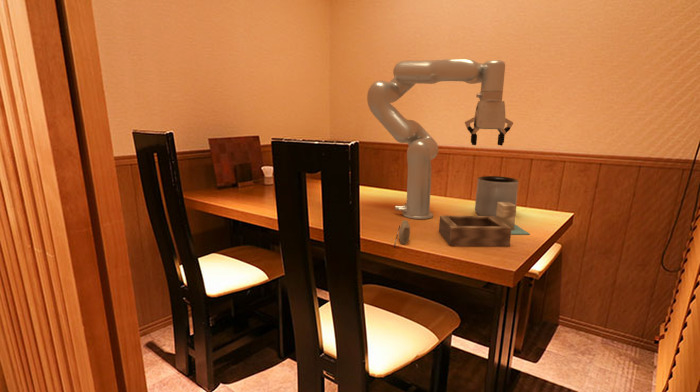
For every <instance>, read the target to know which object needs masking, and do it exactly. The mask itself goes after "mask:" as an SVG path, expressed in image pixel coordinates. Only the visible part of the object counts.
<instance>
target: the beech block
mask: <svg viewBox="0 0 700 392" xmlns="http://www.w3.org/2000/svg"><path fill="white" fill-rule="evenodd" d="M516 215H517V205H516V206H515V205H513V204H512V203H510V202H497V212H496V218H497V219H499V220H500V221H501V222H503V223H504V224H506V225H507V226H509V227H510V228H512V229H511V230H514V225H516Z"/></svg>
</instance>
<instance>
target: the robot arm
mask: <svg viewBox="0 0 700 392" xmlns="http://www.w3.org/2000/svg"><path fill="white" fill-rule="evenodd" d="M392 72H393V74H392V75H393V78H391V80H390V81H386V80H377V81H374V82H373V83H372V84H371V85H370V86H369V88H368V91H367V94H366V95H367V97H366V100H367V105H368V109H369V110H370V112H371V114H372V115H373V116H374V117H375V118H376V120H377V121H378V122H379V123H380V124H381V125H382V126H383V127H384V128H385V130H386V131H387V132H388V133H389V134H390V135H391V136H392V137H393V139H394V140H395V141H396V142H397V143H400V144H407V145H408V146H407V151H406V159H407V160H406V161H407V162H406V163H407V180H406V181H407V184H406V202H404V204H402V205H394V210H395V211H399V212H402V213H401V214H402V216H403V217H405V218H408V219H413V220H427V219H431V218H433V217H434V213H433V212H432V211H430V208H431V207H430V205H431V191H432V190H431V188H432V160H434V159H435V158H436V157H437V155H438V154H439V145H438V143H437V141H436V140H435V139H434V138H433V137H432V136H431V135H430V134H429V132H428V131H427V130H426V129H425V128H424V127H423V126H422V125H421V124H420V123H418V122H417V121H415V120H413V119H408V118H406V117H404V115H402V113H401V112H400V111H399V110H398V109H397V108H396V107H395V106H394V105H392V104H393V103H395V102H397V101H398V100H400V98H402V97H403V96H404V95H405V94H406V93H407V92H409V91H410V89H412V88H413V87H414V86H415V85H416V84H422V85H423V84H425V85H435V84H437V83H440V82H464V83H467V84H469V85H474V84H480V92H479V93H477V94H475V95H476V98H478V99H479V100H478V101H477V104H476V107H475V113H474V117H472V118H470V119H468V120H465V121H464V124H465V128H466V129H467V131H468V132H469V134H470V135H471V136H470V144H471V145H472V146H477V140H478V134H477V132H478V131H479V130H497V131H498V132H499V134H498V136H497V145H498V146H500V147H501V146H502V147H503V145H504V143H505V136H506V134H507V133H508V132H509V131H510V129H511V128H512V126H513V125H514V122H513V121H512V120H509V119H508V118H506V105H505V104H506V103H505V100H503V92H504V84H505V83H504V82H505V75H506V74H505V73H506V62H505V61H503V60H500V59H499V60H497V59H495V60H487V61H485V62H483V63H479V62H477V61H475V60H473V59H470V58H469V59H468V58H467V59H466V58H453V59H452V58H450V59H435V60H434V59H433V60H428V59H427V60H401V61H399V62H397V63H396V64H395V65H394V67H393V70H392ZM472 123H473V127H472V126H471V124H472Z"/></svg>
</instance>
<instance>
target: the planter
mask: <svg viewBox="0 0 700 392" xmlns="http://www.w3.org/2000/svg"><path fill="white" fill-rule="evenodd" d="M518 189H519V179H516V178H513V177H508V176H499V175H495V176H494V175H485V176H484V175H483V176H479V177H477V184H476V195H475V205H474V212H475V213H476V214H477V216H494V217H496V212H497V202H510V203H512V204H513V205H515V206H517V202H518V201H517V200H518Z"/></svg>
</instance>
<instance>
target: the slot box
mask: <svg viewBox="0 0 700 392" xmlns="http://www.w3.org/2000/svg"><path fill="white" fill-rule="evenodd" d="M511 229H512V228H510V227H509V226H507V225H506V224H504V223H503V222H501V221H500V220H499V219H497V218H496V217H494V216H480V215H443V214H442V215H439V223H438V233H439V234H440V236H441V237H442V238H443V239H444V240H445V242H446V243H447V244H448V246H450V247H485V248H486V247H487V248H488V247H495V248H496V247H498V248H499V247H500V248H501V247H502V248H503V247H505V248H507V247H508V248H509V247H510V245H511V237H512V236H511Z"/></svg>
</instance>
